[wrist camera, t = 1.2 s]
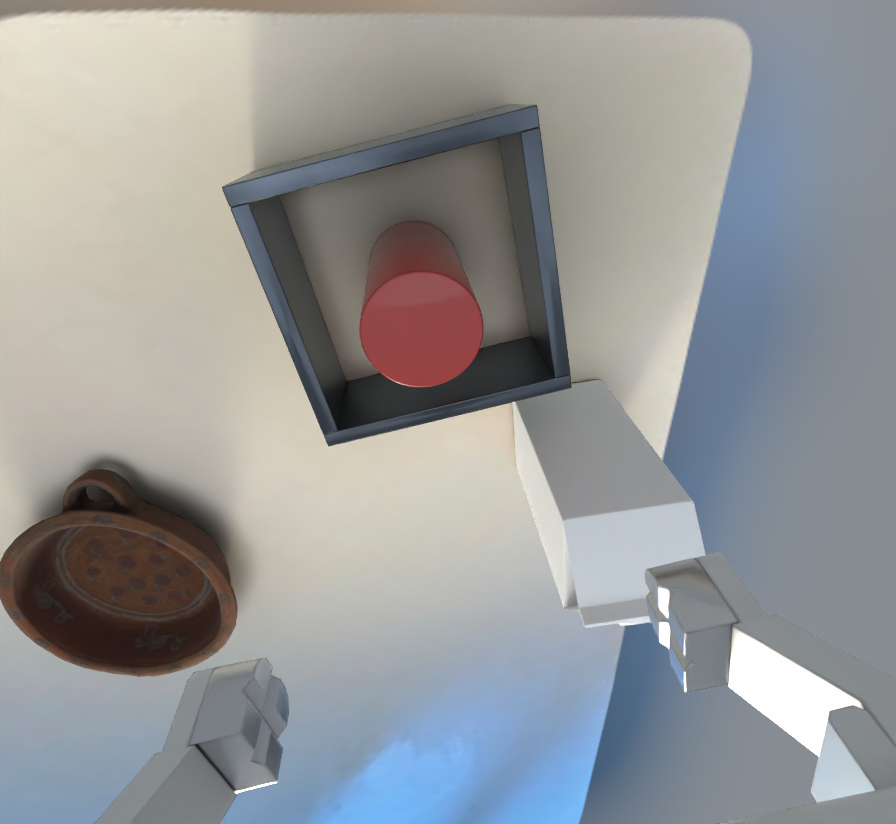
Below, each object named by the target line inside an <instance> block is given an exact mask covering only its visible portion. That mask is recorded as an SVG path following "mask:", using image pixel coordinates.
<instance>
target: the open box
mask: <svg viewBox="0 0 896 824" xmlns="http://www.w3.org/2000/svg"><path fill="white" fill-rule="evenodd" d="M539 126H540V125H539V117H538V109H537V105H517V104H509V105H505V106H501V107H497V108H494V109H490V110H486V111H482V112H478V113H474V114H471V115H467V116H463V117H459V118H455V119H452V120H448V121H444V122H440V123H436V124H432V125H429V126H425V127H421V128H417V129H413V130H409V131H406V132H402V133H398V134H394V135H390V136H386V137H383V138H379V139H375V140H371V141H367V142H364V143H360V144H356V145H352V146H348V147H344V148H341V149H337V150H333V151H329V152H325V153H321V154H318V155H314V156H310V157H306V158H302V159H299V160H295V161H291V162H287V163H283V164H279V165H276V166H272V167H268V168H264V169H260V170H256V171H253V172H251V173H249V174H247V175H245V176H243V177H241V178H239V179H237V180H235V181H233V182H231V183H229V184H227V185H225V186H223V187H222V189H223V192H224V194H225V197H226V199H227V201H228V204H229V206H230V207H231V211H232V213H233V216H234V218H235V221H236V223H237V226H238V228H239V231H240V233H241V235H242V238H243V240H244V243H245V245H246V248H247V250H248V252H249V255H250V257H251V260H252V262H253V265H254V267H255V269H256V272H257V274H258V277H259V279H260V282H261V284H262V286H263V289H264V291H265V294H266V296H267V299H268V301H269V303H270V306H271V308H272V311H273V313H274V316H275V318H276V321H277V323H278V325H279V328H280V330H281V333H282V335H283V338H284V340H285V342H286V345H287V347H288V350H289V352H290V355H291V357H292V359H293V362H294V364H295V367H296V369H297V372H298V374H299V376H300V379H301V381H302V384H303V386H304V389H305V391H306V394H307V396H308V398H309V401H310V403H311V406H312V408H313V411H314V413H315V415H316V418H317V420H318V423H319V425H320V428H321V430H322V432H323V434H324V437H325V439H326V442H327V444H328V446H333V445H337V444H341V443H346V442H350V441H354V440H358V439H362V438H366V437H370V436H375V435H379V434H383V433H387V432H391V431H395V430H399V429H404V428H408V427H412V426H416V425H420V424H424V423H428V422H433V421H437V420H441V419H445V418H449V417H453V416H457V415H462V414H466V413H470V412H474V411H478V410H482V409H486V408H491V407H495V406H499V405H503V404H507V403H511V402H515V401H520V400H524V399H528V398H532V397H536V396H540V395H544V394H549V393H553V392H557V391H561V390H565V389H569V388H572V384H571V376H570V367H569V359H568V351H567V343H566V335H565V327H564V319H563V311H562V303H561V295H560V287H559V279H558V270H557V262H556V254H555V246H554V238H553V230H552V222H551V214H550V206H549V198H548V190H547V182H546V174H545V166H544V158H543V149H542V141H541V133H540V128H539ZM496 138H499V143H500V149H501V155H502V162H503V168H504V174H505V180H506V187H507V193H508V199H509V205H510V212H511V218H512V224H513V230H514V237H515V243H516V249H517V255H518V262H519V268H520V274H521V280H522V287H523V293H524V299H525V305H526V312H527V318H528V324H529V331H530V336H531V337H528V338H524V339H520V340H516V341H512V342H508V343H504V344H500V345H495V346H491V347H487V348H483V349H479V351H478V353H477V355H476V356H475V358H474V360H473V361H472V362H471V364H470V365H469V366H468V367H467V368H466V369H465V370H464V371H463V372H462V373H461V374H459V375H458V376H456V377H455V378H453V379H451V380H449V381H447V382H445V383H442V384H439V385H435V386H430V387H413V386H407V385H403V384H400V383H397V382H395V381H393V380H391V379H389V378H387V377H386V376H384V375H383V374H382V373H381V374H377V375H373V376H369V377H365V378H361V379H357V380H353V381H349V382H346V379H345V377H344V374H343V371H342V368H341V366H340V363H339V360H338V357H337V355H336V352H335V349H334V346H333V344H332V341H331V338H330V335H329V333H328V330H327V327H326V324H325V322H324V319H323V316H322V313H321V311H320V308H319V305H318V302H317V300H316V297H315V294H314V291H313V289H312V286H311V283H310V280H309V278H308V275H307V272H306V269H305V267H304V264H303V261H302V258H301V256H300V253H299V250H298V247H297V245H296V242H295V239H294V236H293V234H292V231H291V228H290V225H289V223H288V220H287V217H286V214H285V212H284V209H283V206H282V203H281V201H280V198H279V195H280V194H284V193H288V192H292V191H296V190H300V189H303V188H307V187H311V186H315V185H319V184H323V183H327V182H330V181H334V180H338V179H342V178H346V177H350V176H354V175H357V174H361V173H365V172H369V171H373V170H377V169H381V168H384V167H388V166H392V165H396V164H400V163H404V162H408V161H411V160H415V159H419V158H423V157H427V156H431V155H435V154H438V153H442V152H446V151H450V150H454V149H458V148H462V147H465V146H469V145H473V144H477V143H481V142H485V141H488V140H492V139H496Z"/></svg>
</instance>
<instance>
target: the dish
mask: <svg viewBox="0 0 896 824" xmlns="http://www.w3.org/2000/svg"><path fill="white" fill-rule="evenodd" d="M88 486H96V487H100V488H102V489H104V490H106V491H107V492H109V493H110V494H111V495H112V496H113V497H114V499H115V501H107V502H95V501H93V500H91V499H90V498H89V497H88V495H87V492H86V490H87V487H88ZM0 599H1V602H2V604H3V606H4V608H5V610H6V612H7V613H8V615H9V616H10V618H11V619H12V620H13V622H14V623H15V624H16V625H17V627H18V628H19V629H20V630H21V631H22V632H23V633H24V634H25V635H26V636H27V637H29V638H30V639H31V640H32V641H33V642H35V643H36V644H37V645H39V646H40V647H42V648H43V649H45V650H47V651H49V652H51V653H52V654H54V655H55V656H57V657H58V658H60V659H62V660H64V661H67V662H69V663H72V664H74V665H77V666H80V667H83V668H86V669H91V670H96V671H101V672H107V673H113V674H121V675H132V676H138V677H140V676H158V675H163V674H168V673H173V672H176V671H180V670H183V669H186V668H189V667H192V666H194V665H196V664H198V663H200V662H202V661H204V660H206V659H208V658H209V657H210V656H212V655H214V654H215V653H216V652H218V651H219V650H220V649H221V648H222V647H223V646H224V645H225V643H226V642H227V641H228V639H229V637H230V636H231V634H232V632H233V630H234V628H235V625H236V618H237V602H236V598H235V594H234V591H233V589H232V586H231V582H230V576H229V570H228V567H227V564H226V561H225V558H224V556H223V554H222V552H221V550H220V549H219V547H218V546H217V544H216V543H215V542H214V541H213V539H212V538H211V537H210V536H209V535H208V534H206V533H205V532H204V531H202V530H201V529H199V528H198V527H197V526H195V525H194V524H192V523H191V522H189V521H187V520H185V519H184V518H182V517H180V516H177V515H175V514H173V513H171V512H168V511H166V510H163V509H160V508H157V507H154V506H151V505H148V504H145V503H143V502H142V500H141V499H140V498H139V496H138V495H137V493H136V492H135V490H134V489H133V487H132V486H131V485H130V484H129V483H128V482H127V480H125V479H124V478H123V477H122V476H120V475H119V474H117V473H115V472H113V471H110V470H105V469H94V470H91V471H88V472H86V473H85V474H83V475H82V476H81V477H79V478H78V479H76V480H75V481H74V482H72V483H71V484H70V485H69V486H68V487H67V489H66V491H65V494H64V500H63V511H62V513H61V514H59V515H56V516H53V517H51V518H48V519H45V520H43V521H41V522H39V523H37V524H35V525H33V526H32V527H30V528H29V529H27V530H26V531H25V532H24V533H22V534H21V535H20V536H19V537H17V538H16V539H15V540H14V541H13V543H12V544H11V545H10V546H9V548H8V549H7V550H6V551H5V553H4V555H3V557H2V559H1V561H0Z"/></svg>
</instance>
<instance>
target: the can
mask: <svg viewBox="0 0 896 824" xmlns="http://www.w3.org/2000/svg"><path fill="white" fill-rule="evenodd" d="M482 338H483V318H482V314H481V310H480V308H479V305H478V303H477V300H476V298H475V296H474V293H473V291H472V289H471V286H470V284H469V281H468V279H467V277H466V274H465V272H464V270H463V267H462V265H461V262H460V260H459V258H458V255H457V253H456V251H455V248H454V246H453V244H452V243H451V241H450V240H449V238H448V237H447V236H446V235H445V234H444V233H443V232H442V231H441V230H439V229H438V228H436V227H434V226H433V225H430V224H427V223H424V222H418V221H408V222H402V223H399V224H396V225H394V226H392V227H390V228H389V229H387V230H386V231H385V232H384V233H383V234H382V235H381V236H380V237H379V238H378V239H377V241H376V242H375V244H374V246H373V248H372V251H371V254H370V259H369V266H368V272H367V279H366V286H365V292H364V299H363V306H362V312H361V319H360V339H361V343H362V347H363V349H364V352H365V354H366V356H367V357H368V359H369V361H370V362H371V363H372V365H373V366H374V367H375V368H376V369H377V370H378V371H379V372H380V373H382V374H383V375H384V376H386V377H387V378H389V379H391V380H393V381H395V382H397V383H400V384H403V385H407V386H413V387H430V386H435V385H439V384H442V383H445V382H447V381H449V380H451V379H453V378H455V377H456V376H458V375H459V374H461V373H462V372H463V371H464V370H465V369H466V368H467V367H468V366H469V365H470V364H471V362H472V361H473V360H474V358H475V356H476V355H477V353H478V351H479V348H480V346H481V342H482Z"/></svg>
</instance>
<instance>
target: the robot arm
mask: <svg viewBox="0 0 896 824" xmlns="http://www.w3.org/2000/svg"><path fill="white" fill-rule="evenodd" d="M645 583H646V585H647V587H648V588H649V590H650V592H649V593H648V594H647V596H646V602H647V609H648V613H649V617H650V621H651V623H652V626H653V628H654V631H655V633H656V635H657V637H658V639H659V641H660V643H662V644H663V645H665V646H667V647H668V648H669V657H670V664H671V666H672V668H673V670H674V672H675V673H676V675H677V677H678V679H679V681H680V683H681V685H682V687H683V689H684V691H685V692H691V691H696V690H701V689H706V688H711V687H717V686H722V685H727V684H729V687H730V688H731V689H732V690H734V691H735V692H736V693H738V694H739V695H740V696H741V697H743V698H744V699H745V700H747V701H748V702H749V703H750V704H752V705H753V706H754V707H756V708H757V709H758V710H760V711H761V712H762V713H763V714H765V715H766V716H767V717H769V718H770V719H771V720H772V721H774V722H775V723H776V724H778V725H779V726H780V727H781V728H783V729H784V730H785V731H787V732H788V733H789V734H790V735H792V736H793V737H794V738H796V739H797V740H798V741H799V742H801V743H802V744H804V745H805V746H806V747H807V748H808V749H810V750H811V751H812V752H814V753H815V754H816V755H818V756H819V758H818V762H817V766H816V771H815V775H814V779H813V784H812V788H811V793H812V795H813V796H814V798H815V800H816V801H817V803H813V804H808V805H803V806H799V807H794V808H789V809H785V810H780V811H775V812H770V813H765V814H761V815H756V816H751V817H746V818H742V819H737V820H732V821H727V822H723V823H718V824H896V678H894V677H892V676H890V675H888V674H887V673H885V672H883V671H881V670H879V669H877V668H875V667H873V666H872V665H869V664H868V663H866V662H864V661H862V660H860V659H858V658H856V657H855V656H853V655H851V654H849V653H847V652H845V651H843V650H842V649H840V648H838V647H836V646H834V645H832V644H830V643H828V642H826V641H825V640H823V639H821V638H819V637H817V636H815V635H813V634H811V633H810V632H808V631H806V630H804V629H802V628H800V627H798V626H796V625H794V624H792V623H791V622H789V621H787V620H785V619H783V618H781V617H779V616H777V615H772V616H768V615H767V614H766V612H765V611H764V609H763V608H762V607H761V605H760V604H759V603H758V601H757V600H756V599H755V597H754V596H753V595H752V593H751V592H750V591H749V589H748V588H747V586H745V584H744V582H743V581H742V580H741V578H740V577H739V576H738V574H737V573H736V572H735V570H734V569H733V568H732V566H731V565H730V564H729V562H728V561H727V560H726V558H725V557H724V556H723V555H722V554H720V553H714V554H709V555H705V556H701V557H696V558H690V559H686V560H681V561H677V562H673V563H669V564H665V565H661V566H657V567H653V568H649V569H646V571H645ZM272 668H273V667H272V665H271V664H270V662H269V661H268V660H267V658H260V659H255V660H250V661H245V662H240V663H235V664H230V665H225V666H220V667H216V668H211V669H207V670H202V671H197V672H194V673H193V674H192V675H191V677H190V678H189V679H188V681H187V684H186V686H185V689H184V692H183V695H182V697H181V700H180V703H179V706H178V708H177V711H176V714H175V717H174V720H173V722H172V725H171V728H170V731H169V733H168V736H167V739H166V742H165V745H164V747H163V750H162V752H161V753H157V754H154V756H153V757H152V758H151V759H150V760H149V761H148V762H147V764H146V765H145V766H144V767H143V768H142V769H141V770H140V772H139V773H138V774H137V775H136V776H135V777H134V778H133V780H132V781H131V782H130V783H129V784H128V785H127V786H126V788H125V789H124V790H123V791H122V792H121V793H120V794H119V796H118V797H117V798H116V799H115V800H114V801H113V802H112V804H111V805H110V806H109V807H108V808H107V809H106V810H105V812H104V813H103V814H102V815H101V816H100V817H99V819H98V820H97V821H96V822H95V823H94V824H220V823H221V821H222V819H223V818H224V816H225V814H226V813H227V811H228V809H229V808H230V806H231V805H232V803H233V801H234V800H235V798H236V796H237V794H236V793H237V792H241V791H245V790H249V789H253V788H257V787H261V786H265V785H269V784H273V783H277V780H278V774H279V768H280V762H281V757H282V751H283V747H282V745H281V744H280V742H279V740H278V737H279V736H280V735H281V733H282V732H283V731H284V729H285V728H286V726H287V721H288V715H289V703H288V695H287V691H286V688H285V686H284V684H283V682H282V681H281V679H278V678H276V677H274V676H272V675H271V673H272Z"/></svg>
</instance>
